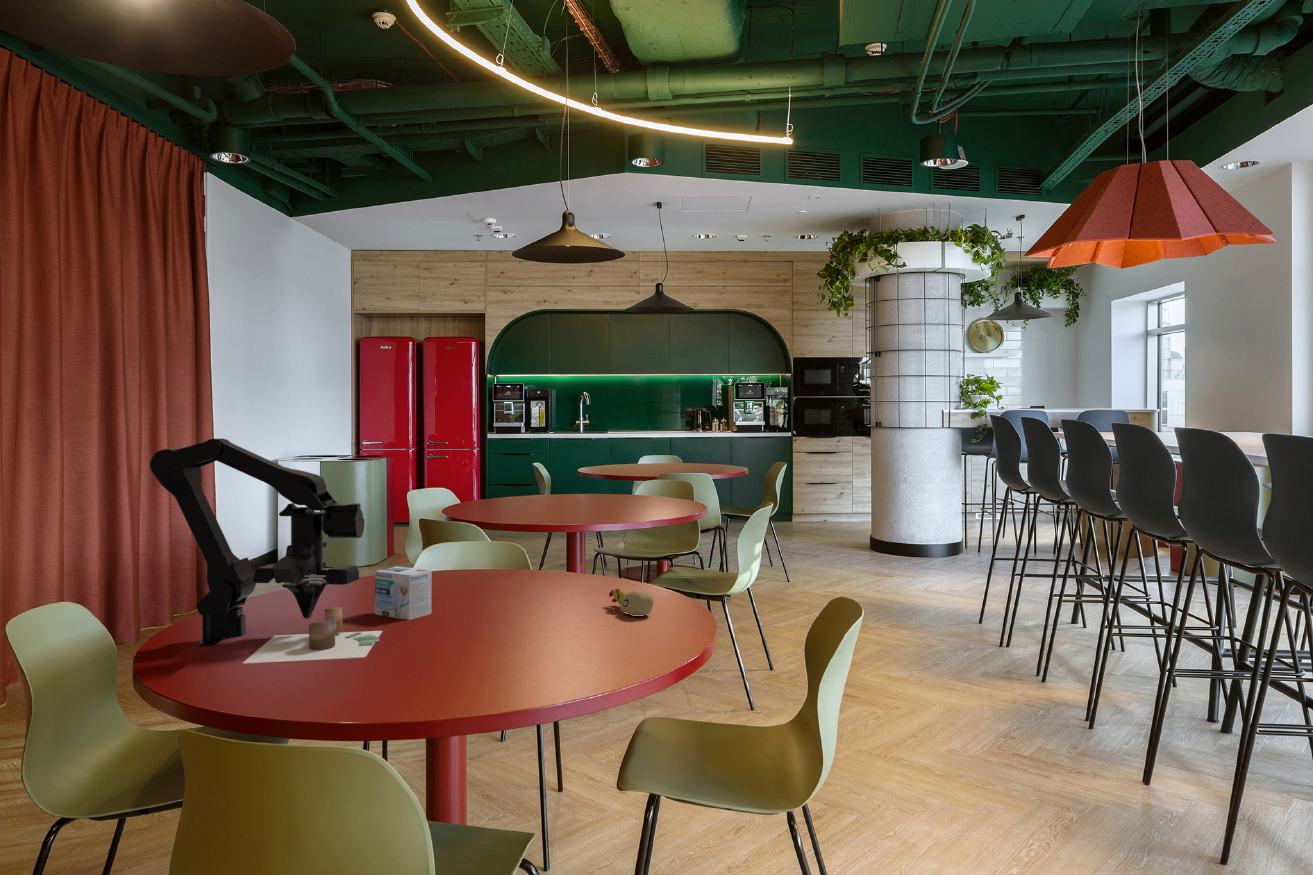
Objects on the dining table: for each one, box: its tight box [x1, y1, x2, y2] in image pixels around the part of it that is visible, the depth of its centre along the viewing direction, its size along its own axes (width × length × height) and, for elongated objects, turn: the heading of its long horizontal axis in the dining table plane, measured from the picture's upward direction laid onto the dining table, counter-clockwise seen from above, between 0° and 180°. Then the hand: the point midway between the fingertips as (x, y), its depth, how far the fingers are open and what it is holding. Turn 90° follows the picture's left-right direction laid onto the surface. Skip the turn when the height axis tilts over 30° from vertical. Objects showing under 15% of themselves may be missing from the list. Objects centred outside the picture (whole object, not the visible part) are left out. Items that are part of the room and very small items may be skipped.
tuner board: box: [242, 630, 383, 664], centre depth 142 cm, size 21×18×1 cm
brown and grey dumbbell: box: [308, 606, 343, 649], centre depth 145 cm, size 13×4×5 cm, turn 10°
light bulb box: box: [374, 566, 433, 621], centre depth 167 cm, size 11×7×11 cm, turn 62°
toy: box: [608, 588, 655, 615], centre depth 174 cm, size 6×7×15 cm
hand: (307, 618), depth 151 cm, fingers closed
